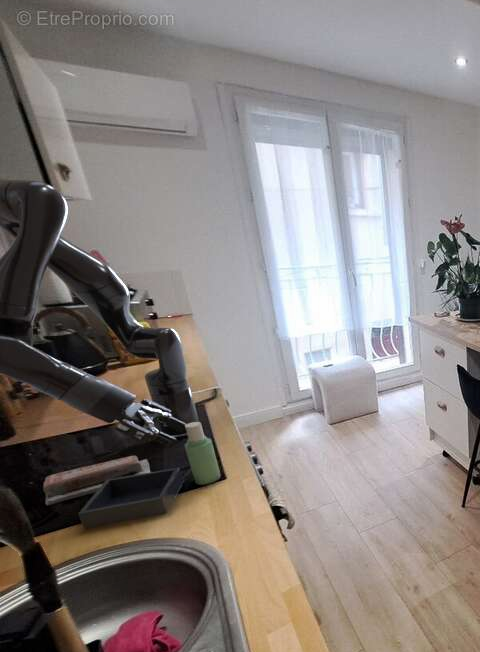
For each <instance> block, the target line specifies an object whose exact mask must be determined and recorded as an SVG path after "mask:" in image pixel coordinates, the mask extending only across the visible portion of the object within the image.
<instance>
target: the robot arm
mask: <svg viewBox="0 0 480 652" xmlns="http://www.w3.org/2000/svg"><path fill="white" fill-rule="evenodd" d="M68 215H69V208H68V204H67V201H66V199H65V197H64V196H63V195H62V193H61V192H60V191H59V190H58V189H57V188H55V187H54V186H53V185H51V184H48V183H46V182H45V181H39V180H32V179H21V178H19V179H18V178H6V177H5V178H3V177H2V178H1V177H0V228H2V229H3V230H4V231H6V232H7V233H8V234H9V235H11V237H13V238H14V241H13V242H12V243H11V245H10V247H8V249H7V251H6V252H5V253H4V254H3V255H2V256H1V257H0V374H1V375H4V376H6V377H9V378H11V379H14V380H16V381H18V382H21V383H24V384H26V385H28V386H30V387H31V388H33V389H34V390H36V391H38V392H40V393H43V394H44V395H47V396H49V397H51V398H53V399H56V400H58V401H61V402H62V403H64V404H66V405H68V406H69V407H71V408H73V409H75V410H77V411H79V412H82V413H85V414H86V415H89V416H91V417H93V418H95V419H98V420H100V421H103V422H105V423H107V424H112V423H114V422H116V421H118V422H119V423H118V424H117V425H116V426H115V427H114V430H115V431H116V432H119V433H120V434H123V435H125V436H127V437H129V438H131V439H133V440H136V441H138V442H140V443H142V444H145V443H146V442H148V441H150V442H151V441H154V442H156V443H158V444H161V445H163V446H165V447H167V448H172V447H173V446H174V444H176V442H177V441H178V439H182V438H186V437H188V435H187V431H186V428H185V425H187V424H189V423H192V422H200V419H199V416H198V412H197V409H196V406H198V405H200V404H202V403H206V402H208V401H211V400H213V399H215V398H216V397H218V389H217V388H216V387H215V388H213V391H214V395H213V396H210V397H208V398H206V399H202V400H199V401H197V402H195V401H194V397H193V394H192V391H191V387H190V383H189V380H188V375H187V361H186V357H185V352H184V347H183V342H182V339H181V337H180V334H179V333H178V332H177V331H176V330H175V329H173V328H171V327H148V326H147V327H146V326H144V325H142V324H141V323H140V322H138V321H137V319H136V318H135V317H134V316H133V314H132V313H131V311H130V304H131V295H130V294H131V293H130V290H129V288H128V286H127V285H126V284H125V283H124V281H123V280H122V279H121V278H120V277H119V276H118V274H117V273H116V272H115V271H114V270H113V269H112V268H111V267H110V266H109V265H108V264H107V263H105V262H104V261H103V260H100V258H98V257H96V256H94V255H93V254H91V253H89V252H88V251H86V250H84V249H82V248H81V247H79V246H77V245H76V244H74V243H72V242H70V240H68V239H66V238H65V237H63V236H62V234H63V231H64V228H65V226H66V223H67V220H68ZM47 268H48V269H49V270H50V271H52V273H53V274H54V275H56V276H57V278H59V279H60V280H61V281H62V282H63V283H64V284H65V286H66V287H67V288H68V289H69V290H70V291H71V292H72V293H73V294H74V295H75V296H76V297H77V298H78V299H79V300H80V301H82V302H83V303H84V304H85V305H86V306H87V307H88V308H89V309H90V310H91V311H92V312H93V313H94V314H95V315H96V316H97V317H98V318H99V319H100V320H101V321H102V322H103V323H104V325H105V326H106V327H107V328H108V329H109V330H110V331H111V333H112V334H113V335H114V336H115V337H116V339H117V340H118V341H119V343H120V344H121V345H122V346H123V347H124V349H125V350H126V351H127V352H128V353H129V354H130V355H131V356H133V357H134V358H137V359H140V360H157V361H158V367H157V368H155V369H153V370H150V371H148V372H146V373H145V374H144V381H145V383H146V387H147V390H148V393H149V396H150V399H151V400H150V399H148V398H142V399H141V400H140V402H136V401H135V400H136V399H137V395H136V394H134V393H132V392H130V391H128V390H125V389H124V388H121V387H119V386H118V385H116V384H113V383H111V382H110V381H107V380H105V379H103V378H100V377H98V376H95V375H92V374H90V373H88V372H86V371H84V370H82V369H80V368H78V367H76V366H73V365H71V364H69V363H67V362H64V361H62V360H59V359H56V358H55V357H52V356H51V355H49V354H47V353H46V352H44V351H42V350H40V349H39V348H36V347H35V346H33V342H34V340H33V339H34V321H35V317H36V315H37V309H38V303H39V297H40V291H41V286H42V282H43V278H44V276H45V273H46V270H47ZM155 423H158V425H159V428H160V431H159V430H158V429H157V427H155Z"/></svg>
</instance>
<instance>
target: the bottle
mask: <svg viewBox="0 0 480 652" xmlns="http://www.w3.org/2000/svg"><path fill="white" fill-rule="evenodd" d="M185 428H186V431H187V435H188V436H187V440H186V443H185V444H184V449H185V453H186V456H187V458H188V462H189V466H190V469H191V473H192V477H193V479H194V484H196V485H200V486H204V485H208V484H212V483H214V482H217V481H218V480H219V479H221V476H222V475H221V471H220V468H219V463H218V460H217V456H216V453H215V452H216V451H215V449H214V445H213V442H212V439H211V438H210V437H207V436H206V435H205V434H204V430H203V425H202V423H201V422H200V421H199V422H192V423H189V424H187V425H185Z"/></svg>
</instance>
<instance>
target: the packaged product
mask: <svg viewBox="0 0 480 652" xmlns="http://www.w3.org/2000/svg"><path fill="white" fill-rule="evenodd" d="M150 472H151V469H150V464H149V461H148V459H147V458H146V459H142V460H139V457H138V456H137V455H130V456H126V457H121V458H116V459H113V460H109V461H103V462H100V463H95V464H92V465H91V464H90V465H88V466H82V467H78V468H74V469H70V470H66V471H61V472H57V473H54V474H50V475H48V476H46V477H45V478H44V479H45V480H44V481H43V483H42V484H43V485H42V486H43V487H42V489H43V493H45V506H50V505H54V504H58V503H62V502H64V501H69V500H71V499H76V498H79V497H83V496H86V495H87V496H88V495H90V494H95V493H96V492H97V490H98V489H99V488H100V487H101V486H102V484H103V483H104V482H105V481H106V480H107V479H114V478H120V477H126V476H132V475H138V474H144V473H150Z"/></svg>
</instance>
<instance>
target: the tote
mask: <svg viewBox="0 0 480 652" xmlns="http://www.w3.org/2000/svg"><path fill="white" fill-rule="evenodd" d="M181 471H182V470H181V468H180V467H176V468H175V467H174V468H168V469H163V470H158V471H150V473H144V474H138V475H132V476H126V477H120V478H114V479H107V480H106V481H105V482H104V483H103V484H102V486H101V487H100V488H99V489H98V490H97V492H94V493H93V495H92V496H91V498H89V500H88V501H87V502H86V503H85V505H84V506H83V507H82V508H81V509H80V511H79V512H78V513H77V515H78V517H79V519H80V522H81V524H82V527H83V529H84V530H90V529H95V528H101V527H105V526H111V525H115V524H120V523H125V522H130V521H136V520H141V519H145V518H150V517H151V518H152V517H155V516H161V515H165V514H166V515H167V514H168V512H169V510H170V508H171V506H172V505H173V503H174V501H175V500H176V497H177V495H178V493H179V491H180V489H181V488H182V486H183V484H184V478H183V474H182V472H181Z"/></svg>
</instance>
